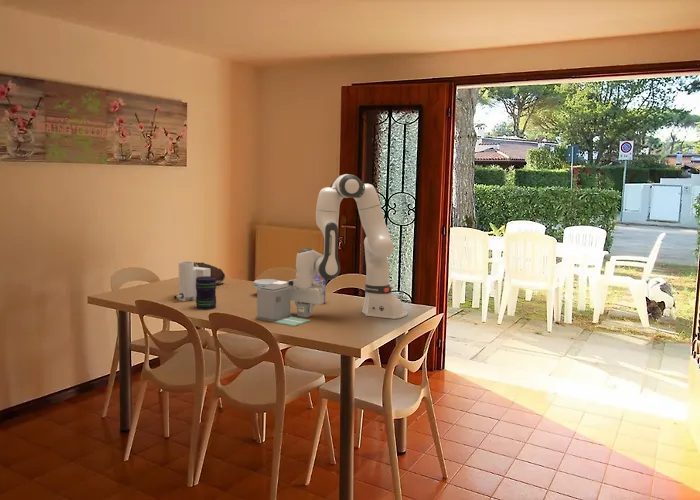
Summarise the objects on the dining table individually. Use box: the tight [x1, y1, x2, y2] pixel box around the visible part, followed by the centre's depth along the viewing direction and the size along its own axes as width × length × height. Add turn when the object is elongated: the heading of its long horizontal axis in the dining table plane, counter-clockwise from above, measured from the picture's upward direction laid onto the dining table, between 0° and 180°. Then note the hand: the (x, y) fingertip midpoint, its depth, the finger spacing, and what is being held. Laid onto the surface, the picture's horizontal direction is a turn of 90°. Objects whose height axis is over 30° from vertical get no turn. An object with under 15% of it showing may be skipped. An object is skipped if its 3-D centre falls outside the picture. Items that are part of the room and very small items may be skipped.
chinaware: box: [253, 278, 281, 291], centre depth 330 cm, size 15×15×8 cm
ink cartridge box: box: [314, 274, 327, 304], centre depth 313 cm, size 10×6×14 cm, turn 78°
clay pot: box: [193, 261, 226, 285], centre depth 353 cm, size 15×15×25 cm
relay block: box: [296, 302, 313, 318], centre depth 284 cm, size 5×5×6 cm
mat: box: [274, 316, 311, 327], centre depth 272 cm, size 11×12×1 cm
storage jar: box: [195, 276, 217, 311], centre depth 296 cm, size 10×10×15 cm
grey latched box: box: [255, 285, 293, 323], centre depth 278 cm, size 11×13×15 cm
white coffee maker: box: [173, 260, 211, 302], centre depth 313 cm, size 16×19×20 cm
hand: (304, 311), depth 284 cm, fingers closed on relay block, 5 cm apart
